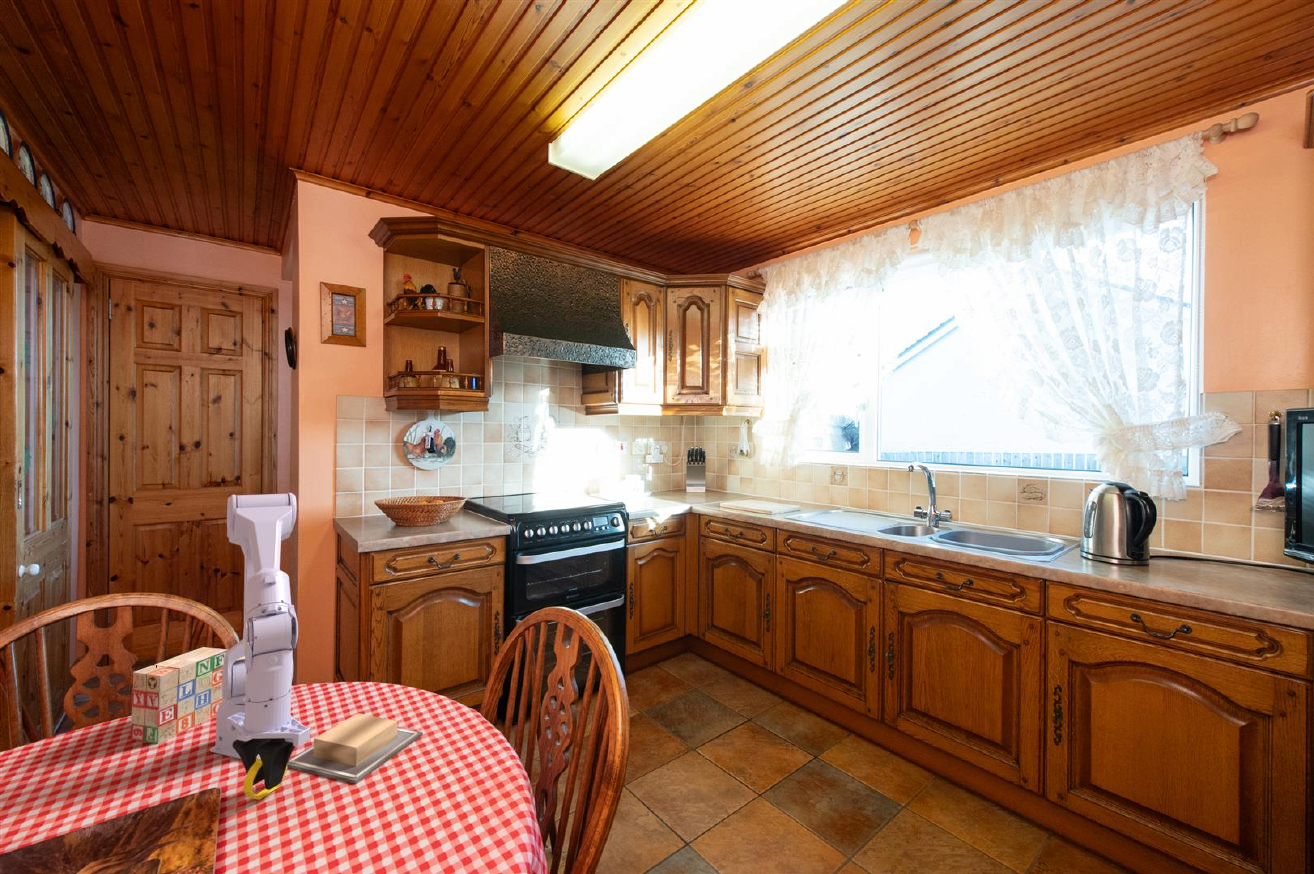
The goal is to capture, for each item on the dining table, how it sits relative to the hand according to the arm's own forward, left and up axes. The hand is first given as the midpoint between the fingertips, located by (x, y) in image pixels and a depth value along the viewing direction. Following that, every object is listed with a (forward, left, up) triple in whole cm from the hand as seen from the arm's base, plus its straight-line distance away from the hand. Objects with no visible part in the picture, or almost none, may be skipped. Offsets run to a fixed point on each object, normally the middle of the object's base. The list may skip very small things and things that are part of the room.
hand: (265, 783), depth 82 cm
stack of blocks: (-34, +14, -2) cm, 37 cm away
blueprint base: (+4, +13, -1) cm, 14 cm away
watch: (0, 0, -2) cm, 2 cm away
